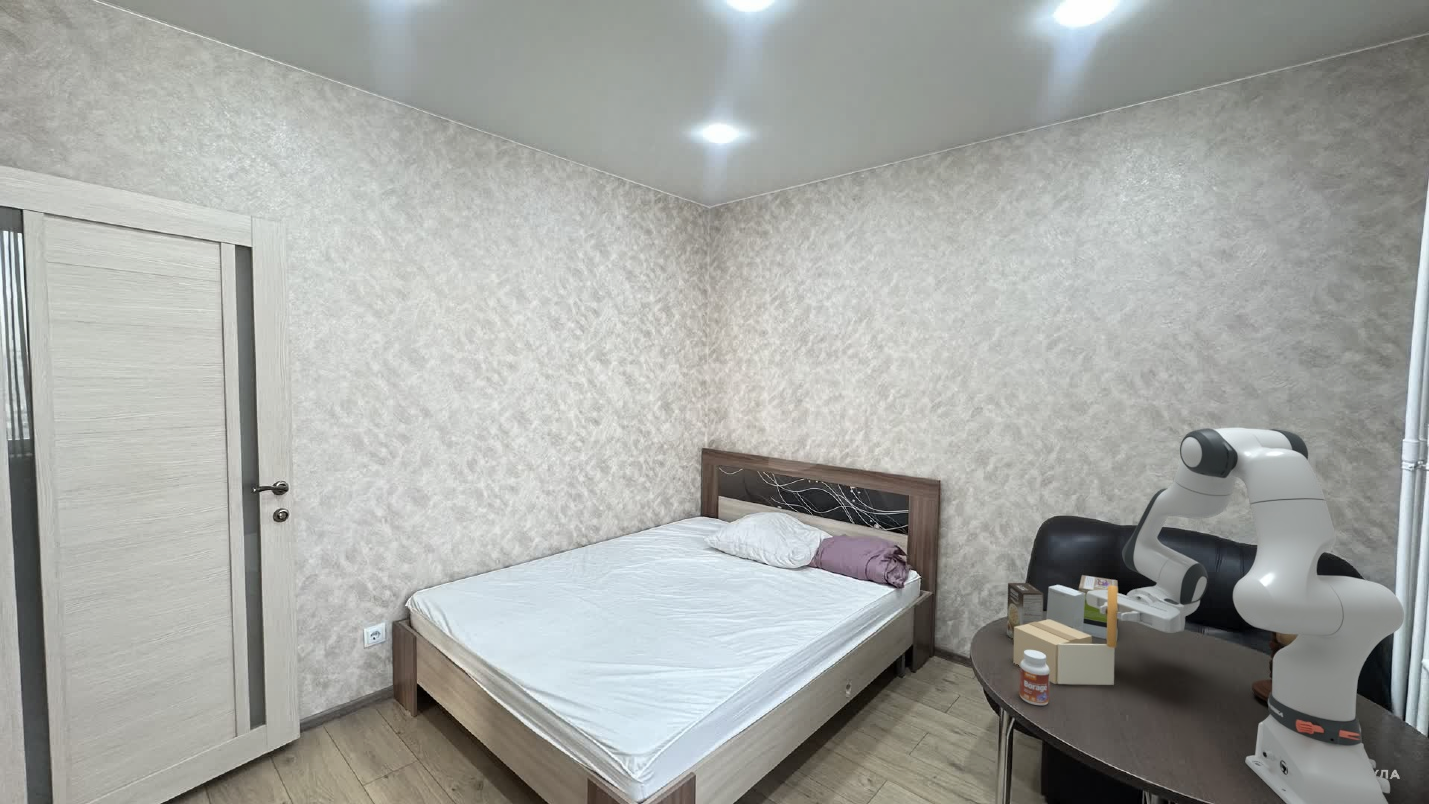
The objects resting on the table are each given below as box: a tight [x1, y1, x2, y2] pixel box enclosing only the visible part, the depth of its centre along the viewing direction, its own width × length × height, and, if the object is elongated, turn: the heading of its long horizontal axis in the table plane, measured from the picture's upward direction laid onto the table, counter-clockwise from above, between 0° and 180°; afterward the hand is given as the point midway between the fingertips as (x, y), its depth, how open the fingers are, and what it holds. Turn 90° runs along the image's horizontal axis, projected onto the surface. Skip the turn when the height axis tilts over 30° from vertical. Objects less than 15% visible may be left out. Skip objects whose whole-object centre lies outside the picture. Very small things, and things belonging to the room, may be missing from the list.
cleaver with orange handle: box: [1057, 585, 1119, 686], centre depth 143 cm, size 2×14×25 cm, turn 89°
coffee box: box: [1006, 582, 1044, 641], centre depth 170 cm, size 9×6×16 cm
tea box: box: [1078, 574, 1119, 640], centre depth 178 cm, size 15×10×15 cm, turn 144°
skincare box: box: [1045, 584, 1085, 632], centre depth 172 cm, size 8×6×15 cm
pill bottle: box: [1019, 650, 1050, 706], centre depth 137 cm, size 6×6×11 cm
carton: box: [1013, 619, 1093, 685], centre depth 153 cm, size 12×14×10 cm
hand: (1111, 613), depth 142 cm, fingers open, 3 cm apart
